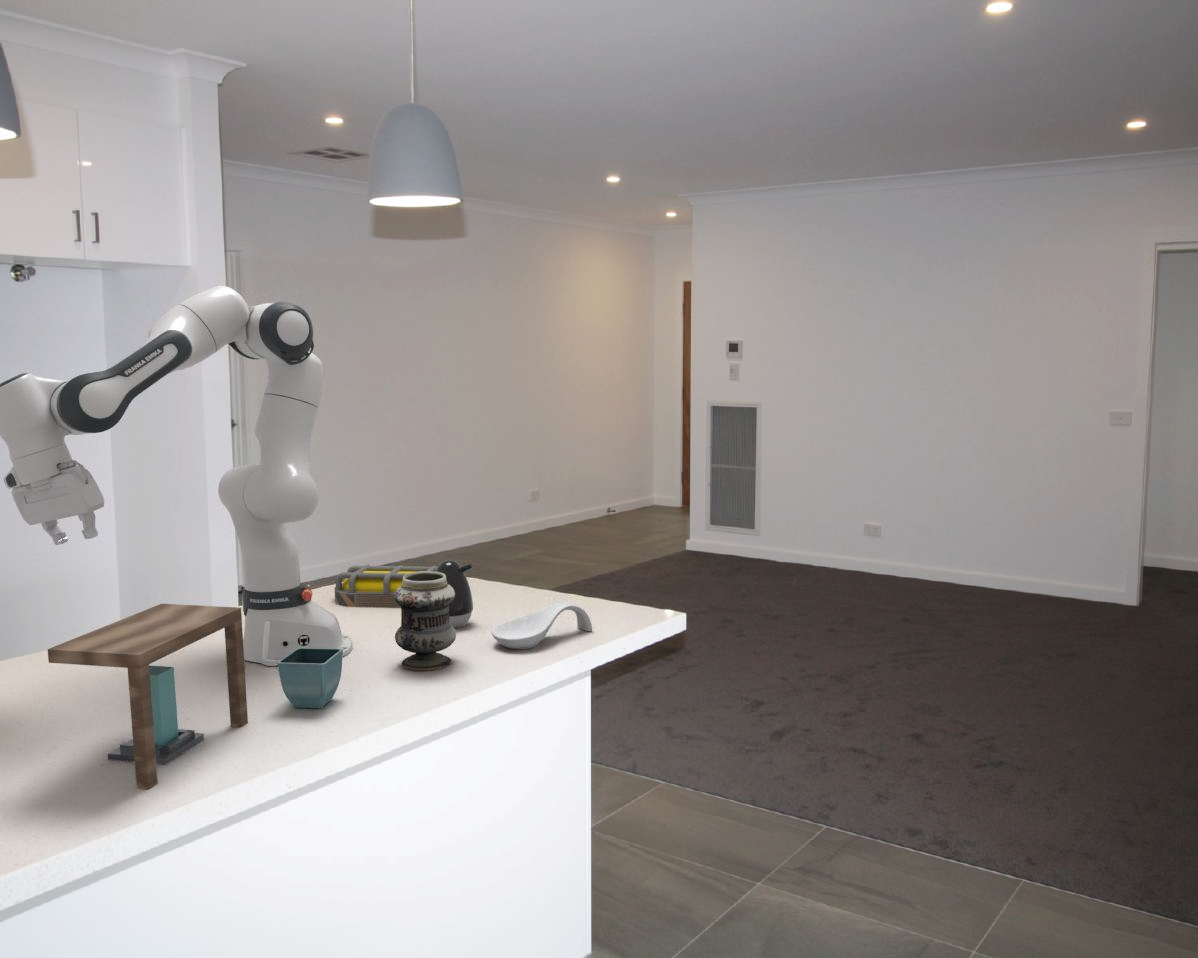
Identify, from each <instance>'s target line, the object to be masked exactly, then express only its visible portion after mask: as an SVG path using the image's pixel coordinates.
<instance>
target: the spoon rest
mask: <svg viewBox="0 0 1198 958" xmlns="http://www.w3.org/2000/svg"><path fill="white" fill-rule="evenodd" d="M568 610H569V611H572V612H574V613H575V616H576V625H577V628H578V629H580V630H582V631H585V632H592V631H593V626H592V621H591V619H590V617H589V614H588V613H587V612H586V610H585V609H583V608H582V607H581V606H579V605H578V606H577V605H575V604H572V603H569V602H564V601H563V602H562V601H561V602H556V603H553V604H550V605H548V606H545V607H542V608H540V609H537V610H536V611H533V612H531V613H529V614H525V615H523V616H521V617H518V618H515V619H512V620H509V621H505V622H503V623H501V624H499V625H496V626H495V627H494V628H493V629H492V630H491V635H492V637H493V638H494V640H495V641H496V642H498V643H499V644H500V645H501V646H503V647H504V648H505V647H506V648H509V649H512V650H526V649H527V650H528V649H532V648H535V647H537V645H538V644H539V643H540V642H542V641H543V639H544V638H545V637H546V636H547V634H548V632H549V630H550V629H551V627H552V625H553V624H554V623H555V620H556V619H557V618H558V616H559V615H561V614H562V613H563V612H564V611H568Z"/></svg>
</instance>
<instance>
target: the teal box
mask: <svg viewBox="0 0 1198 958" xmlns="http://www.w3.org/2000/svg"><path fill="white" fill-rule="evenodd" d="M149 671H150V685H151V699H152V712H153V726H154V740H155V745H161V746H164V745H165V744H167V743H169V742H170V741H172V740H174V739H175V738H177V737H178V736H179V735H178V729H179V723H178V722H179V721H178V710H177V695H176V694H177V693H176V692H177V691H176V681H175V666H164V665H163V666H162V665H151V664H149Z"/></svg>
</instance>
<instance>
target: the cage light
mask: <svg viewBox="0 0 1198 958" xmlns="http://www.w3.org/2000/svg"><path fill="white" fill-rule="evenodd" d="M437 567H438V566H437V565H432V566H417V565H416V566H410V565H408V566H406V565H405V566H404V565H402V564H400V565H398V566H397V565H395V566H394V565H370V564H365V565H351V566H350V567H349V568H348V569H347V570H346V571H345V572H340V573H338V574H337V576H336V577H335V586H334V602H335V604H337V605H339V606H343V607H350V608H351V607H352V608H353V607H354V608H387V609H388V608H390V609H391V608H393V609H395V608H396V609H397V608H398V609H401V606H400V605H399V604H397V602H396V601H395V597H394V596H395V592H396V590H397V589H398V588H399V587H400V586H401V585H402V581H403V576H404V575H406V574H409V573H413V572H419V571H434V572H435V571H436V569H437ZM343 579H344V580H343ZM342 580H343V581H342Z"/></svg>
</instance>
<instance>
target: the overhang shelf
mask: <svg viewBox="0 0 1198 958" xmlns="http://www.w3.org/2000/svg"><path fill="white" fill-rule="evenodd" d="M242 618H243V617H242V607H237V606H236V607H234V606H216V605H215V606H214V605H212V606H211V605H198V604H197V605H193V604H178V603H177V604H175V603H174V604H173V603H159V604H156V605H154V606H153V607H149V608H147V609H145V610H142V611H140V612H137V613H135V614H132V615H130V616H127V617H124V618H122V619H120V620H117V621H115V622H112V623H109V624H107V625H105V626H103V627H100V628H98V629H94V630H91V631H90V632H87V633H85V634H82V635H80V636H77V637H74V638H73V639H70V640H67V641H65V642H62V643H59V644H57V645H55V646H53V647H49V648H47V659H48V663H49V664H62V665H81V666H94V667H106V668H108V667H109V668H123V669H124V668H125V669H127V679H128V690H129V694H128V695H129V703H130V706H129V707H130V716H131V717H130V718H131V719H130V720H131V730H132V731H131V732H132V733H131V734H132V739H133V747H134V760H135V762H134V771H135V783H136V784H135V785H136V789H142V790H150V789H152V788H153V787H154V786H156V785H158V770H157V769H158V768H157V767H158V766H157V764H156V754H155V740H154V726H153V712H152V699H151V685H150V671H149V665H152V663H154V662H156V661H159V660H161V659H163V658H165V657H167V656H169V655H171V654H173V653H176V652H177V651H179V650H181V649H183V648H186V647H188V646H189V645H191V644H194V643H195V642H196V643H197V642H198V641H200V640H202V639H204V638H207V637H208V636H210V635H212V634H214V633H216V632H219V631H221V630H223V629H224V638H225V639H224V642H225V655H226V657H225V658H226V659H225V660H226V673H227V689H228V690H227V691H228V706H229V707H228V708H229V721H230V727H234V728H235V727H237V728H242V727H244V726H245V725H247V724H249V720H248V719H249V717H248V703H247V688H246V687H247V684H246V682H247V681H246V668H245V667H246V665H245V660H244V648H243V637H244V631H243V619H242Z"/></svg>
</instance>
